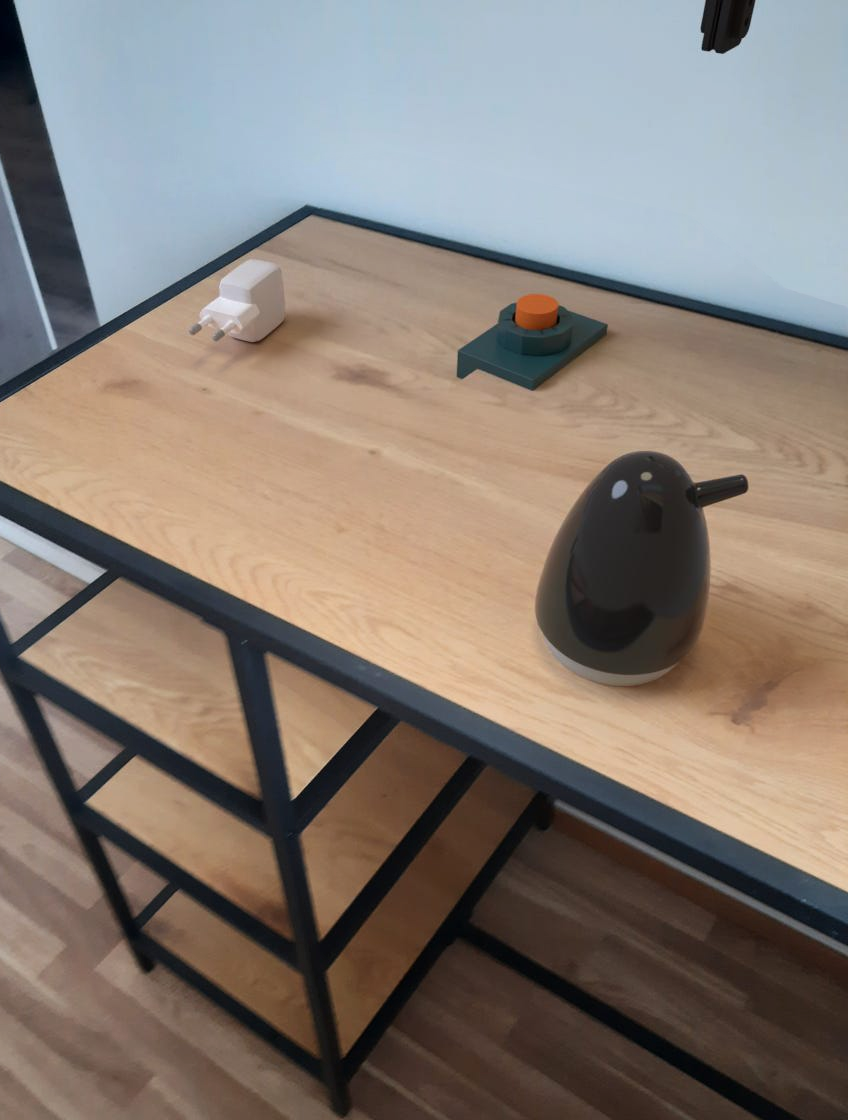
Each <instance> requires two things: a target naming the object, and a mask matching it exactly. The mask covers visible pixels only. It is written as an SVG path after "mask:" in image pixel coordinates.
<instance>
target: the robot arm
mask: <svg viewBox="0 0 848 1120" xmlns="http://www.w3.org/2000/svg"><path fill="white" fill-rule="evenodd" d="M755 6H756V0H705V1H704V6H703V12H702V16H701V17H702V18H701V22H700V33H701V34H703V37H702V41H701V42H702V43H701V51H702V52H709V53H710V52H712V51H714V52H715V53H716V54H721V55H724V54H726V53H727V52H729V51H731V50H733V49H735V48H736V47H738V46H740V44H741V43H742V41H743V39H744V38H746V36H747V35H748V33H749V31H750V27H751V23H752V18H753V14H754V9H755Z"/></svg>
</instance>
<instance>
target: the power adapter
mask: <svg viewBox="0 0 848 1120" xmlns="http://www.w3.org/2000/svg"><path fill="white" fill-rule="evenodd" d="M218 291H219V296H218V297H216V298H215V299H213V300H212V301H211V302H210V303H208V304H207V305H205V306H204V307H203V308H201V311H200V313H199V314H198V315H199V318H200V320H199V321H198V322H196V323H195V324H194V325H192V326H190V328H189V329H188V333H189V334H190V335H191V336H195V335H196V334H198V333H199V332H201V331H202V330H203V329H204V328H205V327H208V328H211V329H215V330H217V331H215V332H213V334H212V335H211V338H212V341H214V342H219V341H220V340H221V339H223V338H224V337H225V336H226V335H228V336H229V337H230V338H235V339H237V340H241V341H245V342H250V343H257V342H260V341H261V340H263V339H264V338H265V337H266V336H268V335H269V334H270V333H272V332H273V331H274V330H275V329H276V328H278V326H280V325H281V324H282V322H284V320H285V317H286V315H287V311H286V297H285V287H284V278H283V272H282V269H281V267H280V266H279V265H278V264H277V263H274V262H270V261H266V260H261V259H253V258H250V259H247V260H246V261H243V262H242V263H241V264H239V265H238V266H237V267H235V268H234V269H232V270H231V271H229V272H228V273H227V274H226V275H225V276H224V277H222V278H221V280H220V282H219V286H218Z"/></svg>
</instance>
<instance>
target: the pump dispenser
mask: <svg viewBox="0 0 848 1120" xmlns="http://www.w3.org/2000/svg"><path fill="white" fill-rule="evenodd" d="M749 487H750V486H749V481H748V478H747V476H746V475H744V474H741V473H740V474H736V475H731V476H725V477H724V476H723V477H719V478H714V479H709V480H704V481H697V482H694V481H693V480H692V477H691V476H690V474H689V472H688V471H687V470H686V469H685V467H684V466H683V465H682V464H681V463H680V462H679V461H678V460H677V459H675V458H673V457H672V456H670V455H668V454H665V453H663V452H658V451H656V450H655V451H654V450H638V451H633V452H628V453H625V454H623V455H621V456H619V457H617V458H615V459H614V460H612V461H611V462H610V463H608V464H607V465H606V466H605V467H603V468H602V469H601V470H600V471H599V472H598V473H597V474H596V475H595V476H594V477H593V478H592V479H591V481H590V482H589V483H588V484H587V485H586V487H585V488H584V489H583V490H582V492H581V493H580V495H579V496H578V498H577V499H576V500H575V502H574V503H573V505H572V506H571V507H570V509H569V510H568V513H567V514H566V515H565V517H564V519H563V520H562V523H561V524H560V526H559V528H558V530H557V532H556V534H555V536H554V538H553V540H552V543H551V544H550V545H551V546H550V548H549V550H548V552H547V554H546V558H545V560H544V561H545V562H544V563H543V567H542V569H541V573H540V575H539V580H538V583H537V587H536V593H535V599H534V615H535V619H536V623H537V625H538V628H539V630H540V631H541V633H542V636H543V639H544V642H545V644H546V646H547V648H548V650H549V651H550V653H551V654H552V656H553V657H554V658H555V660H557V662H559V663H560V664H561V665H562V666H563V667H564V668H565V669H567V670H568V671H569V672H571V673H572V674H575V675H576V676H578V677H580V678H582V679H585V680H587V681H590V682H592V683H596V684H600V685H605V686H612V687H633V686H640V685H645V684H648V683H651V682H654V681H656V680H657V679H659V678H662V677H663V676H665V675H667V674H668V673H669V672H670V671H671V670H673V669H674V667H676V666H677V664H679V663H680V662H681V661H683V660H684V659H686V658H687V657H688V656H689V655H690V654H691V653H692V651H693V650H694V649H695V648H696V646H697V644H698V642H699V640H700V638H701V634H702V631H703V629H704V625H705V621H706V616H707V612H708V604H709V596H710V588H711V573H712V563H711V562H712V560H711V559H712V558H711V556H712V555H711V544H710V536H709V529H708V528H709V527H708V524H707V518H706V515H705V511H704V508H706V507H709V506H711V505H714V504H717V503H722V502H723V501H727V500H729V499H730V500H731V499H733V498H737V497H739V496H742V495H745V494H747V493H748V491H749Z"/></svg>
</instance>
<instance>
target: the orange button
mask: <svg viewBox="0 0 848 1120" xmlns="http://www.w3.org/2000/svg"><path fill="white" fill-rule="evenodd" d="M516 303H517V305H516V316H515V323H516V325H517V326H520V327H522V328H525V329H528V330H539V331H541V330H546V329H551V328H553V327H554V326H555V325H556V322H557V314H558V306H559V305H560V304H559V302H558V300H557V299H556V298H554V297H553V296H550V295H547V294H543V293H532V294H526V295H523V296H521V297H519V298H518V300H517V301H516Z"/></svg>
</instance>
